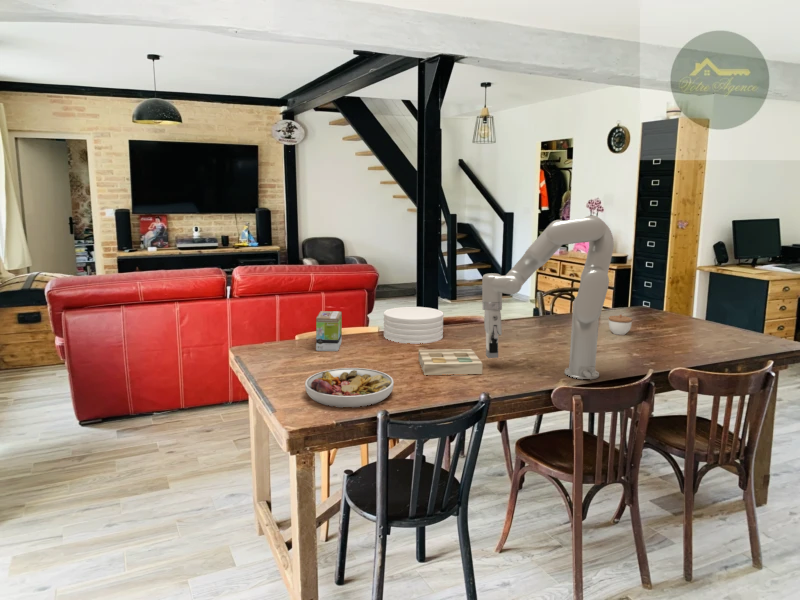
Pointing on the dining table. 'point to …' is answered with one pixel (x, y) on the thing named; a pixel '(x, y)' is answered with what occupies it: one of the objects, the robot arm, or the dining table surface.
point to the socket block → (449, 362)
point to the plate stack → (413, 325)
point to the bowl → (349, 387)
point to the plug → (488, 354)
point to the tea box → (328, 331)
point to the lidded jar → (620, 324)
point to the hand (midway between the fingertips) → (492, 350)
